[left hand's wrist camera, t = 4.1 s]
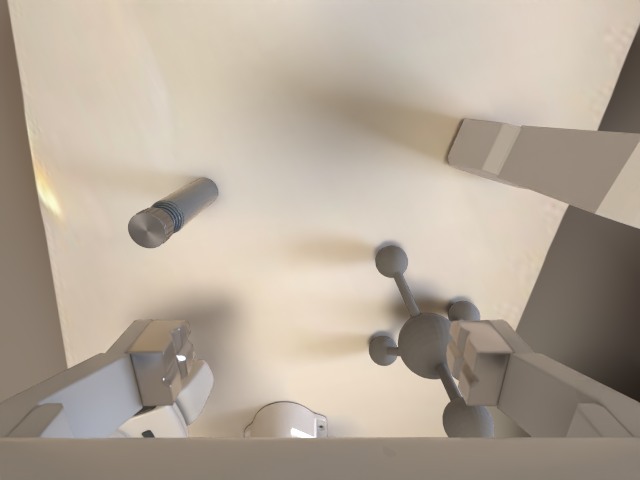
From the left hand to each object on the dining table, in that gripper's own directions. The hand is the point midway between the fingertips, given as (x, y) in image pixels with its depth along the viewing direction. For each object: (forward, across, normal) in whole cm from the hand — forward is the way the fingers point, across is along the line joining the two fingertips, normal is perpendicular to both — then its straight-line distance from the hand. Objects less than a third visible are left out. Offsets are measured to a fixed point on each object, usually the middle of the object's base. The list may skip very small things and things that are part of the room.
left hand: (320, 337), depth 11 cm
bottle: (+48, +20, +6) cm, 52 cm away
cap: (+28, +20, +6) cm, 34 cm away
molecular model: (+48, -16, +29) cm, 58 cm away
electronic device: (+48, -27, 0) cm, 55 cm away
